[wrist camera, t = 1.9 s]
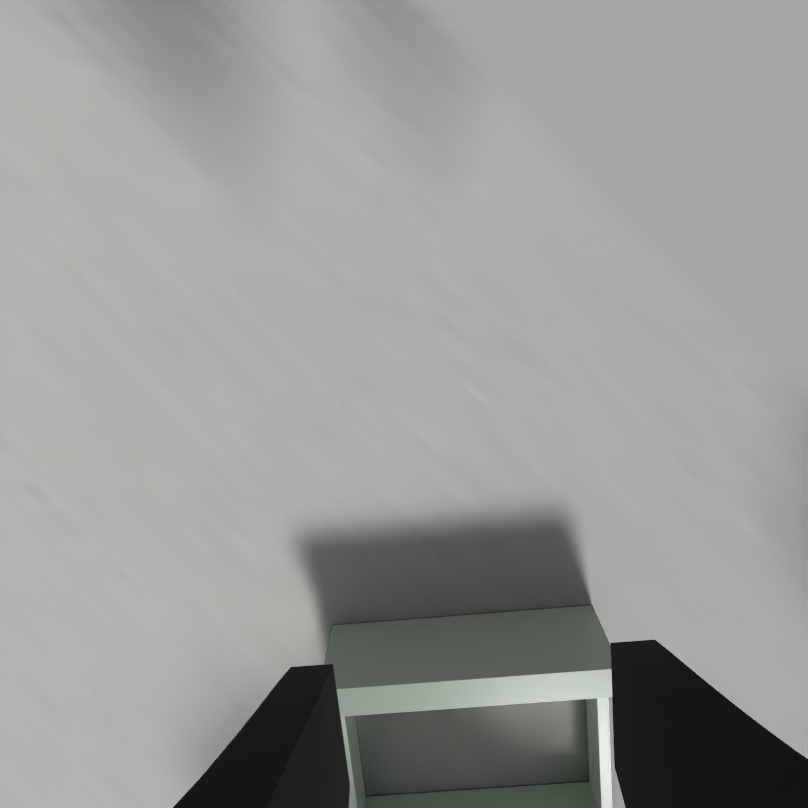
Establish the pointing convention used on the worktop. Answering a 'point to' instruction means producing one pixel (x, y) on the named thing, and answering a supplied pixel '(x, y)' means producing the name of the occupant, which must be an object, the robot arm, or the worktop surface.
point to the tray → (477, 689)
